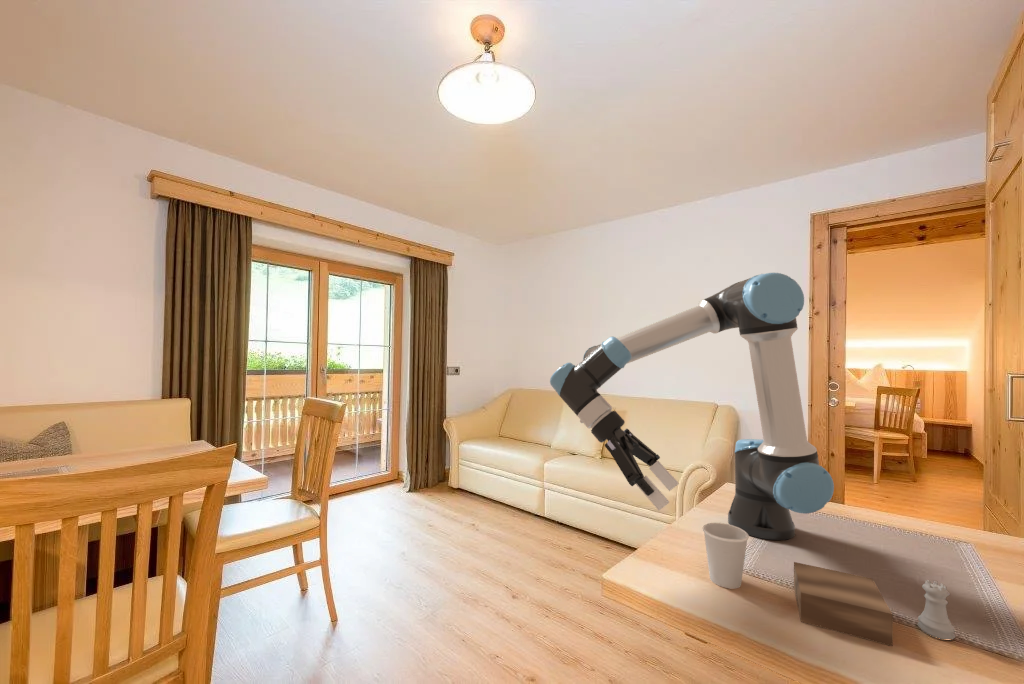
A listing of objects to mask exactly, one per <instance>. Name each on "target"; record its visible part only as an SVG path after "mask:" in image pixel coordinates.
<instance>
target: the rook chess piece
mask: <svg viewBox="0 0 1024 684" xmlns="http://www.w3.org/2000/svg"><path fill="white" fill-rule="evenodd" d="M938 583H939V582H938V581H937V580H933V583H932V580H931V579H930V580H929V579H926V580H924V583H923V584H922V585H921V587H922V589H923V590H924V591H925V594H923V596H924V598H925V604H924V609H923V611H922V612H921V614H919V615H918V619H917V620H918V622H917V626H918V627H919V629H920V628H921V629H920V630H921V631H922V632H923V631H924V633H925V634H926V633H927V634H926V635H928V634H929V635H928V636H930V635H931V636H930V637H932V636H934V637H937V638H940V639H939V640H941V639H952V640H954V639H955V638H956V634H955V626H953V624H952V622H951V620H950V619H949V616H948V612H947V611H948V610H947V605H948V603H949V602H948V601H947V600H946V599H947V597H949V596H950V592H949V590H947V586H946V585H945V584H944V583H940V584H938ZM934 637H933V638H934ZM937 638H936V639H937Z"/></svg>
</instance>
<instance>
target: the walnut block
mask: <svg viewBox="0 0 1024 684" xmlns="http://www.w3.org/2000/svg"><path fill="white" fill-rule="evenodd" d="M793 590H794V594H795V600H796V604H797V605H796V606H797V609H798V614H799V618H800V622H801V623H805V624H808V625H812V626H816V627H819V628H822V629H826V630H830V631H835V632H838V633H841V634H846V635H848V636H853V637H857V638H861V639H864V640H869V641H871V642H875V643H880V644H882V645H887V646H891V647H893V645H894V644H893V642H894V641H893V639H894V638H893V636H894V634H893V626H894V625H893V623H894V622H893V621H894V620H893V613H892V611H891V609H890V607H889V606H888V604H887V601H886V600H885V598H884V596H883V594H882V593H881V591H880V589H879V588H878V585H876V583H875V581H874V578H872V577H867V576H863V575H858V574H852V573H849V572H843V571H839V570H833V569H830V568H829V569H828V568H825V567H821V566H820V567H819V566H815V565H810V564H806V563H800V562H796V561H793Z"/></svg>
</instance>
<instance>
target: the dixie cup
mask: <svg viewBox="0 0 1024 684" xmlns="http://www.w3.org/2000/svg"><path fill="white" fill-rule="evenodd" d="M702 532H703V533H704V534H703V535H704V542H705V551H706V558H707V565H708V566H707V567H708V572H709V574H708V575H709V579H710V581H711V582H712V583H713V584H715V585H716V586H719V587H722V588H726V589H733V590H735V589H738V588H740V587H741V585H742V581H743V573H744V567H745V559H746V552H747V544H748V540H749V538H750V535H748V534H747V533H746V532H745V531H744V530H742V529H741V528H738V527H736V526H733V525H729V523H722V522H709V523H706V524H704V525H703V527H702Z"/></svg>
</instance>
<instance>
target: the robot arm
mask: <svg viewBox="0 0 1024 684" xmlns="http://www.w3.org/2000/svg"><path fill="white" fill-rule="evenodd" d="M698 302H699V303H698V305H696V306H694V307H691V308H689V309H686V310H684V311H683V310H682V311H681V312H679V313H676V314H674V315H671V316H668V317H666V318H663V319H661V320H658V321H656V322H653V323H651V324H648V325H646V326H643V327H640V328H639V329H635V330H634V331H630V332H628V333H626V334H623V335H621V336H618V337H616V336H609V337H608V338H607V339H606V340H605V341H602V342H601V343H600V344H598V345H593V346H591V347H589V348H587V350H585V352H584V354H583V357H582V361H580V362H579V363H577V364H576V365H575V364H573V363H571V362H566V363H564V364H562V366H559V367H558V368H557V369H556V370H555V371H554V372H553V374H552V375H551V376H550V379H549V383H550V386H551V387H552V388H553V389H554V391H555V392H556V393H557V395H558V396H559V397H560V398H561V399H562V400H563V402H564V403H565V404H566V405H567V406H568V407H569V408H570V410H572V412H573V413H574V414H575V415H576V417H578V419H579V422H580V423H581V424H584V426H585V427H587V429H590V431H591V434H592V435H593V436H594V437H595V439H596V440H597V441H598V442H599V443H601V444H602V443H604V442H606V441H607V442H606V443H605V444H604V447H605V448H606V450H607V451H608V452H609V454H611V457H612V459H613V460H614V461H615V463H616V465H617V467H618V468H619V470H620V471H621V473H622V474H623V476H624V478H625V480H626V481H627V483H628V484H629V485H630V486H631V487H634V486H635V485H636V486H637V488H638V489H639V490H640V491H641V492H642V493H643V494H644V496H645V497H646V498H647V499H648V500H649V501H650V502H651V503H652V505H653V506H654V507H655V508H656V509H657V510H658V511H661V510H662V509H664V508H665V507H666V506H667V505H669V504H670V501H669V499H668V498H667V497H666V496H665V495H664V494H663V493H662V492H661V491H660V489H659V488H658V487H657V486H656V485H655V484H654V483H653V481H652V480H651V479H650V478H649V477H648V476H647V475H644V473H643V472H642V470H641V468H640V466H639V464H638V462H637V460H636V459H635V458H637V459H638V460H640V461H641V462H643V463H644V464H646V465H647V466H649V467H648V469H649V470H650V472H652V473H653V475H654V476H655V477H656V478H657V479H658V480H659V482H661V484H662V485H663V486H664V487H665V488H666V489H667V491H669V492H670V491H672V490H673V489H674V488H676V487H677V486H678V485H679V484H680V483H679V482H678V481H677V479H676V478H675V477H674V476H673V475H672V474H671V472H669V471H668V470H667V468H665V466H664V464H662V463H661V462H660V461H659V460H660V459H661V457H660V456H659V454H657V453H656V452H655V451H653V450H652V449H651V448H650V447H649V446H648V445H646V444H645V442H642V440H640V439H639V438H638V437H636V436H635V435H634V433H633V432H631V431H630V429H628V428H625V429H624V430H623V429H622V427H623V426H624V425H625V420H624V419H623V417H622V416H621V415H620V414H619V413H618V412H617V411H616V410H613V406H612V405H611V404H610V403H609V402H608V400H606V399H605V398H604V397H603V395H601V393H600V392H599V391H598V389H599V388H601V387H602V386H603V385H604V384H605V383H607V382H608V381H609V380H610V379H612V377H613V376H615V375H616V374H617V373H618V372H619V371H620V370H623V369H624V368H625V366H626V365H627V364H630V363H633V362H635V361H638V360H640V359H643V358H645V357H648V356H651V355H653V354H656V353H658V352H661V351H664V350H667V349H669V348H671V347H673V346H676V345H679V344H681V343H684V342H687V341H689V340H692V339H695V338H698V337H700V336H703V335H705V334H707V333H712V334H718V333H720V332H723V331H726V330H730V329H738V330H739V337H741V339H742V338H743V339H744V340H746V342H747V343H748V349H749V354H750V355H749V356H750V362H751V369H752V374H753V380H754V386H755V387H754V388H755V394H756V400H757V405H758V412H759V418H760V419H759V420H760V425H761V431H762V439H760V438H759V439H758V438H754V439H753V438H742V439H738V440H737V441H736V442H735V449H734V467H735V468H734V470H735V473H734V476H735V477H734V478H735V479H734V481H735V484H734V486H735V488H734V489H735V491H734V492H735V493H734V497H733V500H732V502H731V505H730V507H729V510H728V511H727V512H728V513H727V524H729V525H733V526H736V527H738V528H741V529H742V530H744V531H745V532H746V533H747V534H748V535H749V536H751V537H755V538H760V539H762V540H763V539H765V540H773V541H777V540H778V541H784V540H785V541H786V540H790V539H792V538H794V537H795V535H796V525H795V523H794V521H793V517H792V515H791V511H792V512H794V513H797V514H804V515H805V514H812V513H816V512H819V511H821V510H822V509H823V508H825V506H826V505H827V504H828V503H830V502H831V499H832V498H833V495H834V491H835V484H834V479H833V478H832V475H831V474H830V472H829V471H827V470H826V468H824V467H823V466H822V465H820V461H819V455H818V450H817V447H816V446H815V445H814V444H812V443H810V442H809V441H808V437H807V436H808V435H807V431H806V424H805V418H804V412H803V406H802V399H801V392H800V387H799V380H798V374H797V367H796V361H795V355H794V348H793V341H792V336H793V335H794V334H795V332H797V330H798V329H799V328H798V323H797V317H798V316H799V315H800V313H801V311H802V310H803V309H804V305H805V296H804V292H803V290H802V287H801V286H800V284H799V283H798V282H797V281H796V280H795V279H793V278H791V276H788V275H787V274H785V273H781V272H767V273H761V274H757V275H754V276H752V277H749V278H746V279H744V280H742V281H738V282H736V283H733V284H731V285H729V286H727V287H725V288H724V289H722V290H720V291H719V292H717V293H714V294H713V295H711V296H709V297H706V298H704V299H701V300H700V301H698Z"/></svg>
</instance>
